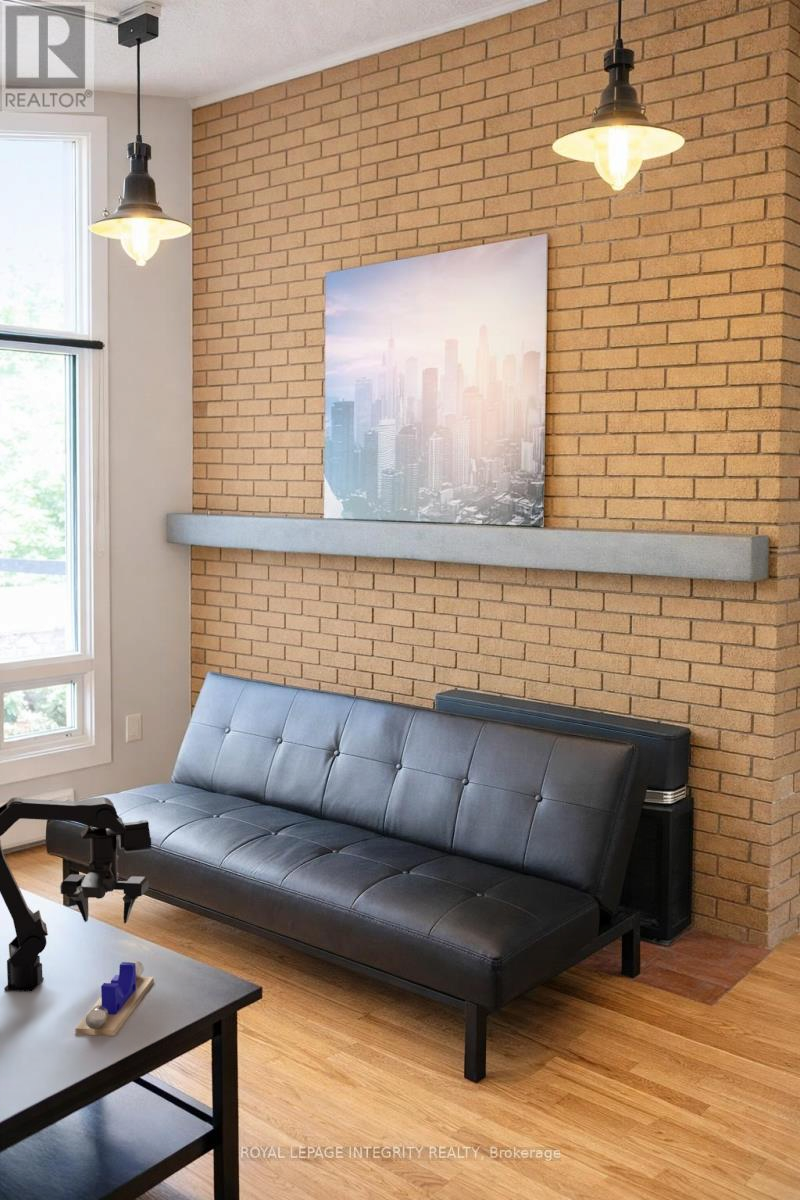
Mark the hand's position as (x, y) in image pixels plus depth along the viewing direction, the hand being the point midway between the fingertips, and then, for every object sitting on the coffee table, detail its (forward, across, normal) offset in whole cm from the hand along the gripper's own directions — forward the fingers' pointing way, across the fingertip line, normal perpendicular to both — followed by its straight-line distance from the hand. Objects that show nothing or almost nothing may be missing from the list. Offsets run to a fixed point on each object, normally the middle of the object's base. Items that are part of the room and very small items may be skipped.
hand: (105, 922), depth 255 cm
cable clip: (+11, +8, -16) cm, 21 cm away
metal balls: (+11, +8, -16) cm, 21 cm away
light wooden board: (+12, +8, -16) cm, 22 cm away
